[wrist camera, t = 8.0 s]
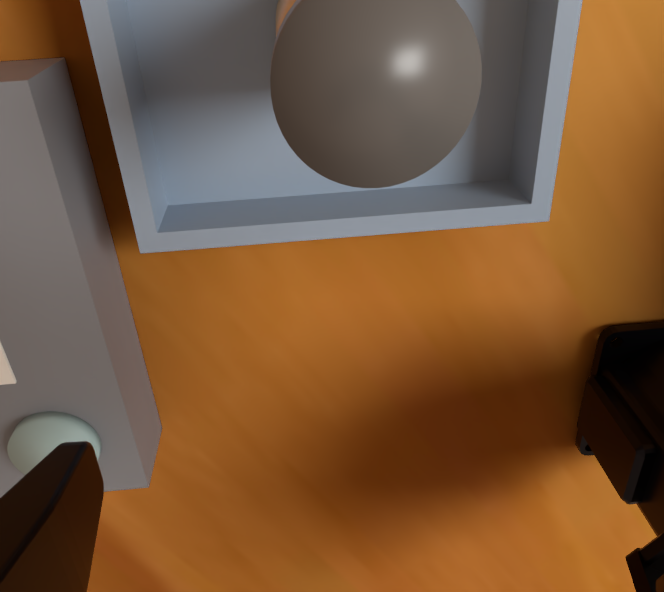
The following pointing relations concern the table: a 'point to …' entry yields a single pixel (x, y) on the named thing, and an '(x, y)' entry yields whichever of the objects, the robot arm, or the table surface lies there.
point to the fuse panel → (63, 294)
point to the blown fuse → (373, 85)
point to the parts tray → (273, 150)
